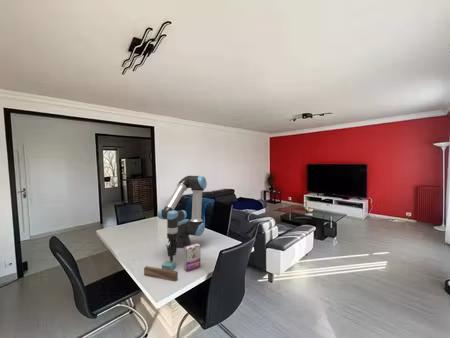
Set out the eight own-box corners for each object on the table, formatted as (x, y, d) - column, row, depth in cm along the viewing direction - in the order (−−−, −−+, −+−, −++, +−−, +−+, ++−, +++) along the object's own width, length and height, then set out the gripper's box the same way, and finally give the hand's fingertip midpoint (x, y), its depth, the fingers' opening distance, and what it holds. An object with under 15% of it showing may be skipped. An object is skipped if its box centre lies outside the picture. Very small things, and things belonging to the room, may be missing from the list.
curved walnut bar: (146, 273, 138) (146, 266, 138) (177, 279, 131) (177, 271, 131) (144, 275, 135) (144, 267, 135) (175, 281, 129) (175, 273, 129)
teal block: (166, 266, 147) (166, 260, 147) (175, 267, 146) (175, 261, 146) (161, 271, 141) (161, 265, 141) (170, 272, 139) (170, 266, 139)
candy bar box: (197, 264, 150) (197, 242, 150) (200, 267, 146) (200, 245, 146) (183, 269, 144) (183, 246, 144) (186, 272, 140) (186, 248, 139)
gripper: (172, 229, 154) (172, 259, 155) (162, 234, 142) (162, 267, 142) (181, 230, 152) (181, 260, 153) (172, 235, 140) (172, 269, 140)
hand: (172, 264), depth 147 cm, fingers closed
